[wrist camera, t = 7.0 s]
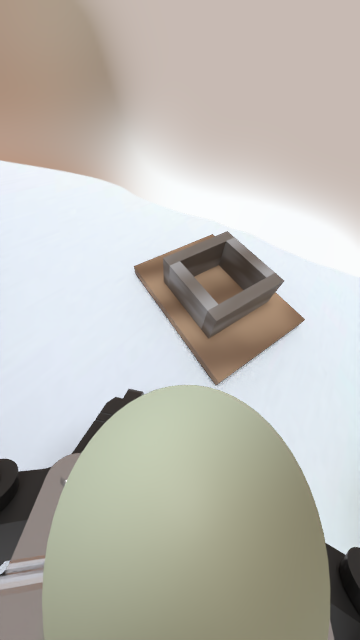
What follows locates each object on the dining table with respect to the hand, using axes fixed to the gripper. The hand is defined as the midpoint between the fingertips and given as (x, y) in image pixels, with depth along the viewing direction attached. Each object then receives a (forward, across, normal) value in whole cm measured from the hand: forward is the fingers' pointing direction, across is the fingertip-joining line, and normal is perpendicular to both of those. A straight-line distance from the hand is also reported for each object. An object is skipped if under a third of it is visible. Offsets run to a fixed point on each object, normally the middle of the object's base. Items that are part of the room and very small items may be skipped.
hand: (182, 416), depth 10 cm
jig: (+15, -2, -4) cm, 16 cm away
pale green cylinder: (+3, 0, +5) cm, 6 cm away
